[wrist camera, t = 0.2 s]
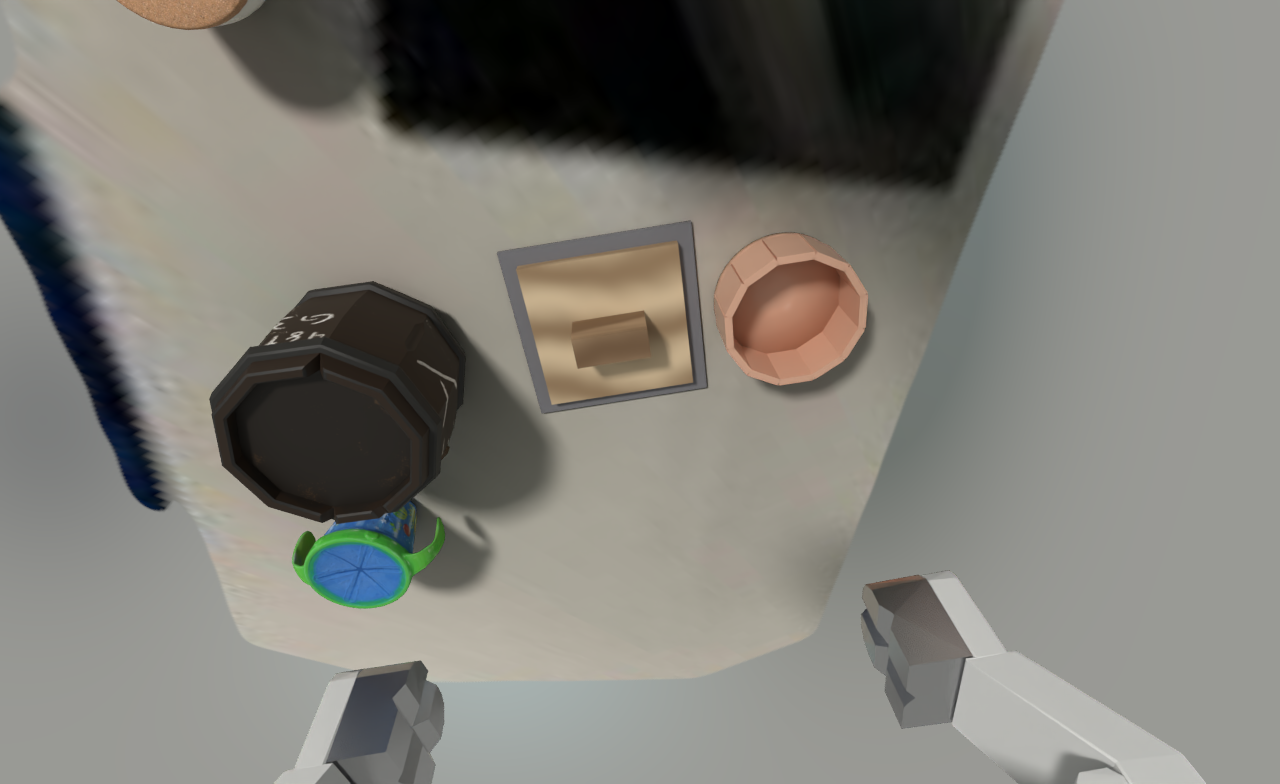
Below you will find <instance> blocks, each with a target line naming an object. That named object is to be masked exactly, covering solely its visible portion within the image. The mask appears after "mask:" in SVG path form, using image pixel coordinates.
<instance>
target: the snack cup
mask: <svg viewBox="0 0 1280 784" xmlns="http://www.w3.org/2000/svg"><path fill="white" fill-rule="evenodd" d="M416 522H417V513H416V507H415V505H414V504H413V503H412V502H411V501H409V502H408V503H407V504H405V505H404V506H403V507H402V508H401V509H400V510H399V511H398V512H393V513H385V514H384V515H383V516H381V517H380V518H378V519H371V520H363V521H356V522H349V523H342V524H336V522H334V523H333V525H332V526H331V527H330V528H329V530H328V531H327V532H326V534H325V535H324V536H323V537H321V538H319V539H318V540H317V541H316V540H315V537H314V536H313V534H312V533H311V532H309V531H306V532H304V533H303V534H302V535H301V536H300V538H299V539H298V542H297V544H296V546H295V549H294V552H293V557H292V564H293V567H294V569H295V571H296V573H297V574H298V576H299V577H300V579H301V580H302V581H303V582H305V583H306V584H308V585H310V586H311V587H312V588H313V589H314V590H315V591H316V592H317V593H318V594H319V595H321V596H322V597H324V598H326V599H327V600H330V601H332V602H334V603H337V604H340V605H343V606H347V607H353V608H376V607H381V606H385V605H388V604H390V603H392V602H394V601H396V600H398V599H399V598H400V597H401V596H403V595H404V593H405V592H406V591H407V589H408V587H409V585H410V582H411V579H412V577H413V576H414V575H415V574H416V573H418V572H419V571H421V570H422V569H424V568H425V567H426V566H427V565H428V564H429V563H430V562H431V561H432V560H433V559H434V558H435V556H436V555H437V554H438V552H439V551H440V549H441V547H442V546H443V543H444V540H445V532H444V526H443V524H442V521H441V519H440V518H439V517H438V518H437V525H436V531H435V538H434V540H433V542H432V543H431V544H430V545H429V546H427V547H425V548H424V549H422V550H421V551H419V552H417V553H414V554H413V544H414V538H415V530H416Z"/></svg>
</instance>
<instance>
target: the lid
mask: <svg viewBox="0 0 1280 784" xmlns="http://www.w3.org/2000/svg"><path fill="white" fill-rule="evenodd" d="M516 271H517V275H518V279H519V283H520V287H521V290H522V294H523V298H524V302H525V305H526V309H527V313H528V317H529V320H530V324H531V328H532V332H533V336H534V339H535V343H536V347H537V351H538V354H539V358H540V362H541V366H542V370H543V373H544V377H545V381H546V385H547V388H548V392H549V396H550V400H551V404H552V405H554V404H560V403H567V402H573V401H579V400H586V399H592V398H598V397H605V396H611V395H617V394H624V393H630V392H636V391H643V390H649V389H655V388H662V387H668V386H674V385H681V384H687V383H693V377H692V367H691V358H690V349H689V340H688V331H687V321H686V312H685V303H684V294H683V285H682V275H681V266H680V257H679V248H678V242H677V240H676V241H670V242H664V243H657V244H651V245H645V246H639V247H633V248H626V249H620V250H614V251H608V252H602V253H595V254H589V255H583V256H577V257H571V258H564V259H558V260H552V261H546V262H540V263H533V264H527V265H521V266H517V269H516Z"/></svg>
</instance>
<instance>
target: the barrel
mask: <svg viewBox="0 0 1280 784" xmlns="http://www.w3.org/2000/svg"><path fill="white" fill-rule="evenodd" d="M464 375H465V352H464V351H463V349H462V348H461V347H460V345H459V344H458V343H457V341H456V340H455V338H454V337H453V336H452V334H451V333H450V331H449V330H448V329H447V327H446V326H445V324H444V323H443V322H442V320H441V319H440V318H439V316H438V315H437V313H436V312H435V311H434V309H433V308H432V307H431V306H430V305H427V304H425V303H423V302H420V301H418V300H416V299H413V298H411V297H409V296H407V295H404V294H402V293H400V292H397V291H395V290H393V289H390V288H388V287H386V286H384V285H381V284H378V283H376V282H374V281H372V282H365V283H358V284H351V285H343V286H336V287H329V288H322V289H315V290H311V291H308V292H307V294H306V295H305V296H304V297H303V298H302V299H301V301H300V302H299V303H298V304H297V305H296V307H295V308H294V309H292V310H291V311H290V312H289V313H288V314H287V315H286V316H285V317H284V318H283V319H282V320H281V321H280V322H279V323H278V324H277V325H276V326H275V327H274V328H273V329H272V330H271V332H270V333H269V334H268V335H267V336H266V338H265V339H264V340H263V341H262V342H261V343H260V345H259V346H255V347H250V348H249V349H248V350H247V351H246V353H245V354H244V355H243V356H242V357H241V359H240V360H239V361H238V362H237V363H236V365H235V366H234V367H233V368H232V369H231V370H230V372H229V373H228V374H227V375H226V376H225V378H224V379H223V380H222V381H221V382H220V384H219V385H218V386H217V387H216V388H215V390H214V391H213V392H212V394H211V397H210V404H211V409H212V419H213V424H214V428H215V433H216V438H217V443H218V448H219V452H220V457H221V462H222V466H223V467H224V468H225V469H227V470H228V471H229V472H230V473H231V474H232V475H233V476H234V477H235V478H237V479H238V480H239V481H240V482H241V483H242V484H243V485H244V486H246V487H247V488H248V489H249V490H250V491H251V492H252V493H253V494H254V495H256V496H257V497H258V498H259V499H260V500H261V501H262V502H263V503H265V504H266V505H267V506H268V507H271V508H274V509H277V510H281V511H284V512H288V513H291V514H294V515H298V516H301V517H304V518H308V519H311V520H314V521H318V522H321V523H323V522H325V521H328V520H330V519H334V520H335V522H336V524H342V523H349V522H356V521H363V520H371V519H378V518H380V517H381V516H383V515H384V514H385V513H393V512H398V511H399V510H400V509H401V508H402V507H403V506H404V505H405V504H407V503H408V502H409V501H410V500H411V499H412V498H413V497H414V496H416V495H417V494H418V493H419V492H420V491H421V490H422V489H423V488H424V487H426V486H427V485H428V484H429V483H430V482H431V481H432V480H433V479H435V478H436V477H437V475H438V474H439V473H440V466H441V460H442V459H443V458H444V457H445V456H446V455H447V454H448V451H449V448H450V447H449V446H447V445H448V442H449V439H450V436H451V433H452V430H453V427H454V424H455V418H456V411H457V409H458V408H459V407H460V406H461V405H462V404H463V394H464Z"/></svg>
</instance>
